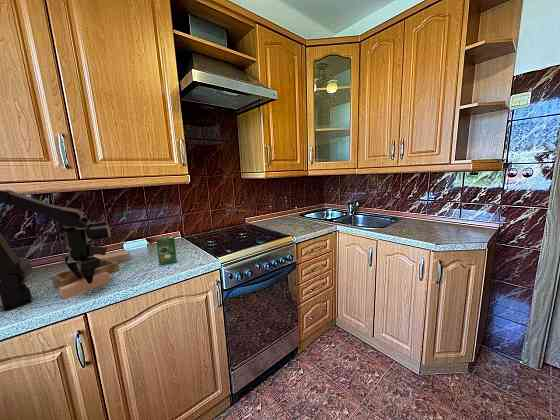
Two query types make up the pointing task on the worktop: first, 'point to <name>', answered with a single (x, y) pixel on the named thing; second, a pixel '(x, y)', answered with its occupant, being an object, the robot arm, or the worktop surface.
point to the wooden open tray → (69, 276)
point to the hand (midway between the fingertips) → (85, 280)
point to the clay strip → (84, 285)
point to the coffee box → (166, 250)
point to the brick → (116, 256)
